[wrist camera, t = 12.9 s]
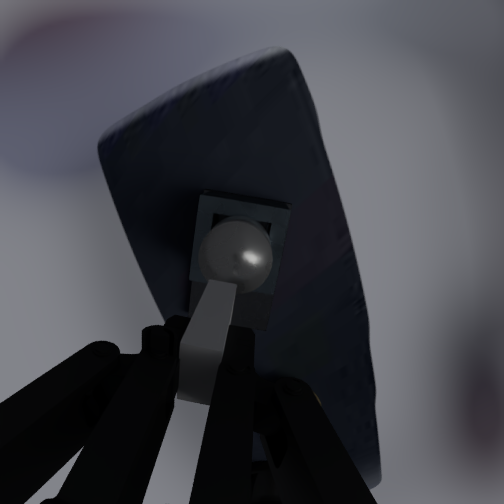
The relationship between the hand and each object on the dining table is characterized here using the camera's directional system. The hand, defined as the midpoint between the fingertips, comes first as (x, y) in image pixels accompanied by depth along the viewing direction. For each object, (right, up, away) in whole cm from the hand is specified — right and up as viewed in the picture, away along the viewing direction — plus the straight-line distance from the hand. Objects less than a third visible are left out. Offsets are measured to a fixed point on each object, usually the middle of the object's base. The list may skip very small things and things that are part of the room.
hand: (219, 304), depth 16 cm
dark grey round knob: (+1, +5, +18) cm, 19 cm away
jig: (0, +2, +20) cm, 20 cm away
